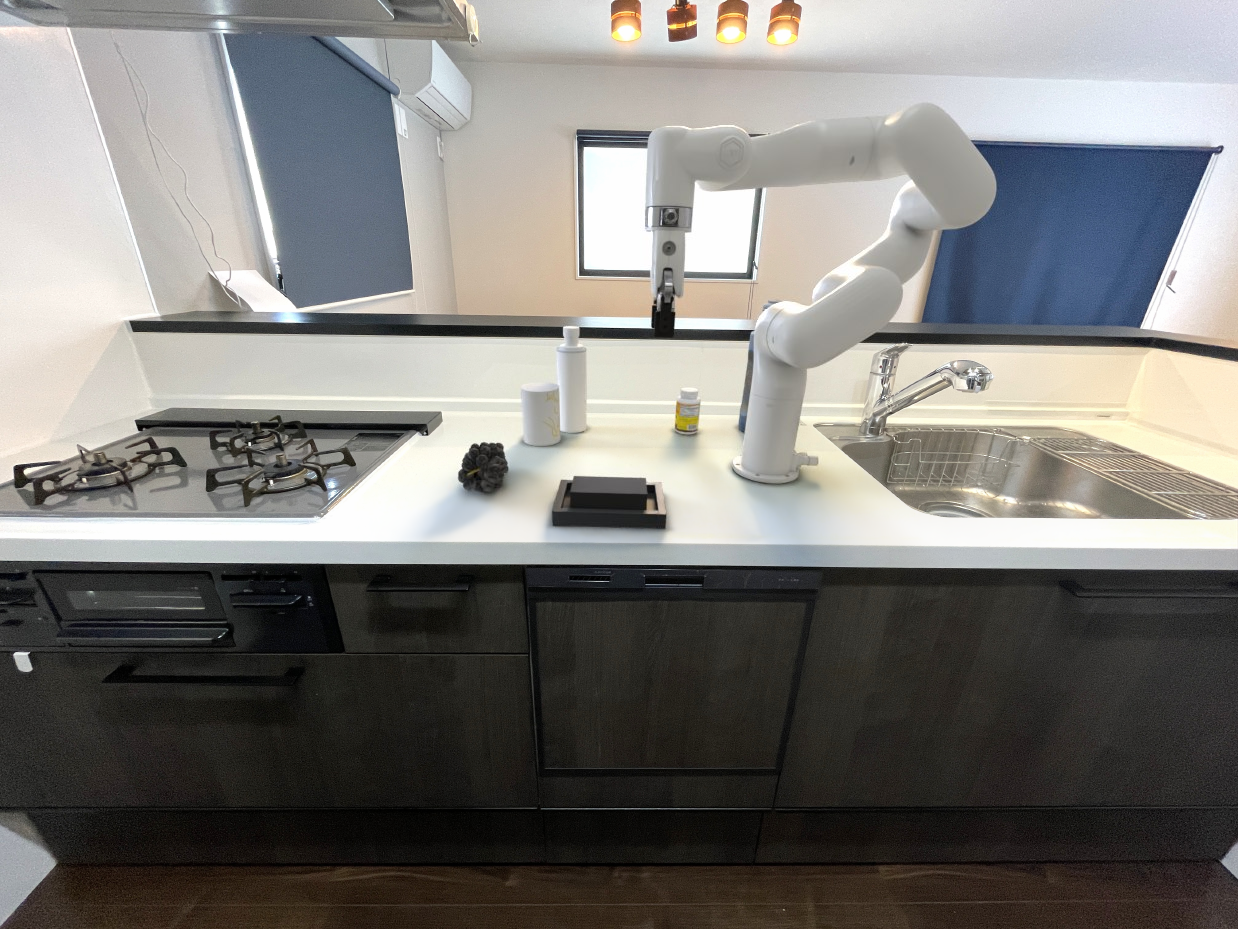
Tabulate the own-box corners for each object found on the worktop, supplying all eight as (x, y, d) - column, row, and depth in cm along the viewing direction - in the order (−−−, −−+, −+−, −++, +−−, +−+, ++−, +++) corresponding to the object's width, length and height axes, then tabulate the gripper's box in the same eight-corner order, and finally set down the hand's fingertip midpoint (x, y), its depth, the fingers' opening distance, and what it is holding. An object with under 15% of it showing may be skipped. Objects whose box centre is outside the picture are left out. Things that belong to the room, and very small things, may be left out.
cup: (553, 447, 105) (552, 393, 100) (518, 444, 107) (514, 390, 102) (565, 435, 113) (564, 383, 108) (531, 431, 114) (529, 380, 109)
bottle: (731, 423, 123) (746, 297, 111) (768, 422, 125) (787, 298, 113) (747, 436, 115) (766, 301, 103) (786, 435, 116) (809, 302, 104)
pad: (644, 496, 83) (645, 477, 82) (646, 513, 78) (647, 494, 76) (573, 494, 83) (573, 475, 82) (570, 511, 78) (570, 492, 76)
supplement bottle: (679, 426, 120) (682, 385, 116) (700, 430, 118) (705, 388, 114) (670, 432, 116) (673, 390, 112) (693, 437, 114) (697, 393, 110)
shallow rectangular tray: (660, 495, 86) (661, 482, 85) (665, 528, 76) (666, 514, 75) (561, 492, 86) (560, 479, 85) (552, 525, 76) (551, 511, 75)
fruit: (482, 419, 93) (459, 446, 79) (524, 433, 94) (509, 462, 80) (471, 459, 96) (447, 492, 82) (512, 472, 97) (495, 507, 83)
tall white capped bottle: (592, 428, 117) (592, 320, 107) (570, 435, 113) (568, 322, 103) (574, 422, 121) (573, 317, 111) (552, 427, 117) (549, 319, 107)
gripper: (699, 219, 70) (689, 341, 77) (685, 225, 86) (678, 326, 92) (646, 217, 70) (641, 340, 77) (642, 223, 86) (638, 325, 92)
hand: (661, 332), depth 85 cm, fingers open, 9 cm apart
